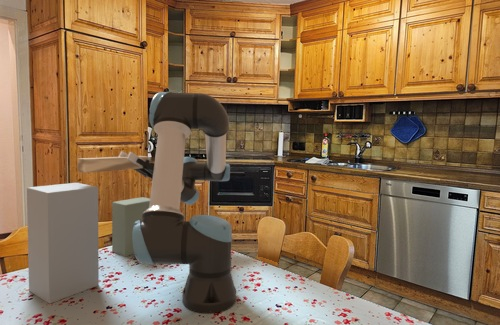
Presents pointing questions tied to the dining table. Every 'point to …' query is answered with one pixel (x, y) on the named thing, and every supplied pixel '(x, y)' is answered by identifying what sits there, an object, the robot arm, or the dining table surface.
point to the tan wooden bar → (106, 164)
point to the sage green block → (126, 223)
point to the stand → (62, 240)
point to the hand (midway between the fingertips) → (124, 155)
